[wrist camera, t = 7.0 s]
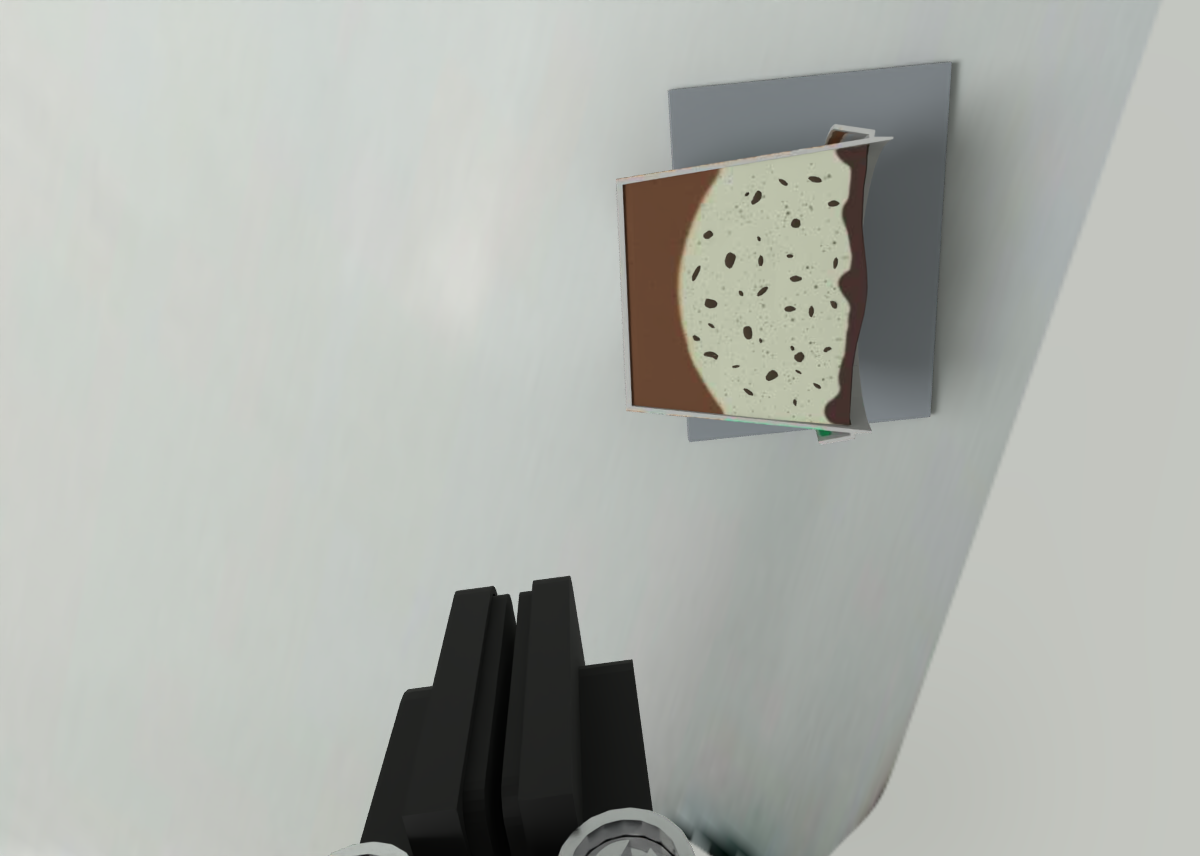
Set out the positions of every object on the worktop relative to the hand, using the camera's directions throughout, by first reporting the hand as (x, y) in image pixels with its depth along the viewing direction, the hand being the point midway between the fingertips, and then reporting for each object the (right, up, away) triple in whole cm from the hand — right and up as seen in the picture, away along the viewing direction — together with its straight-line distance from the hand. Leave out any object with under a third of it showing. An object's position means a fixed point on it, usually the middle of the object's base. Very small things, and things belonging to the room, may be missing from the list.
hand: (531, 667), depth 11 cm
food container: (+2, +10, +22) cm, 24 cm away
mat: (+11, +11, +24) cm, 29 cm away
